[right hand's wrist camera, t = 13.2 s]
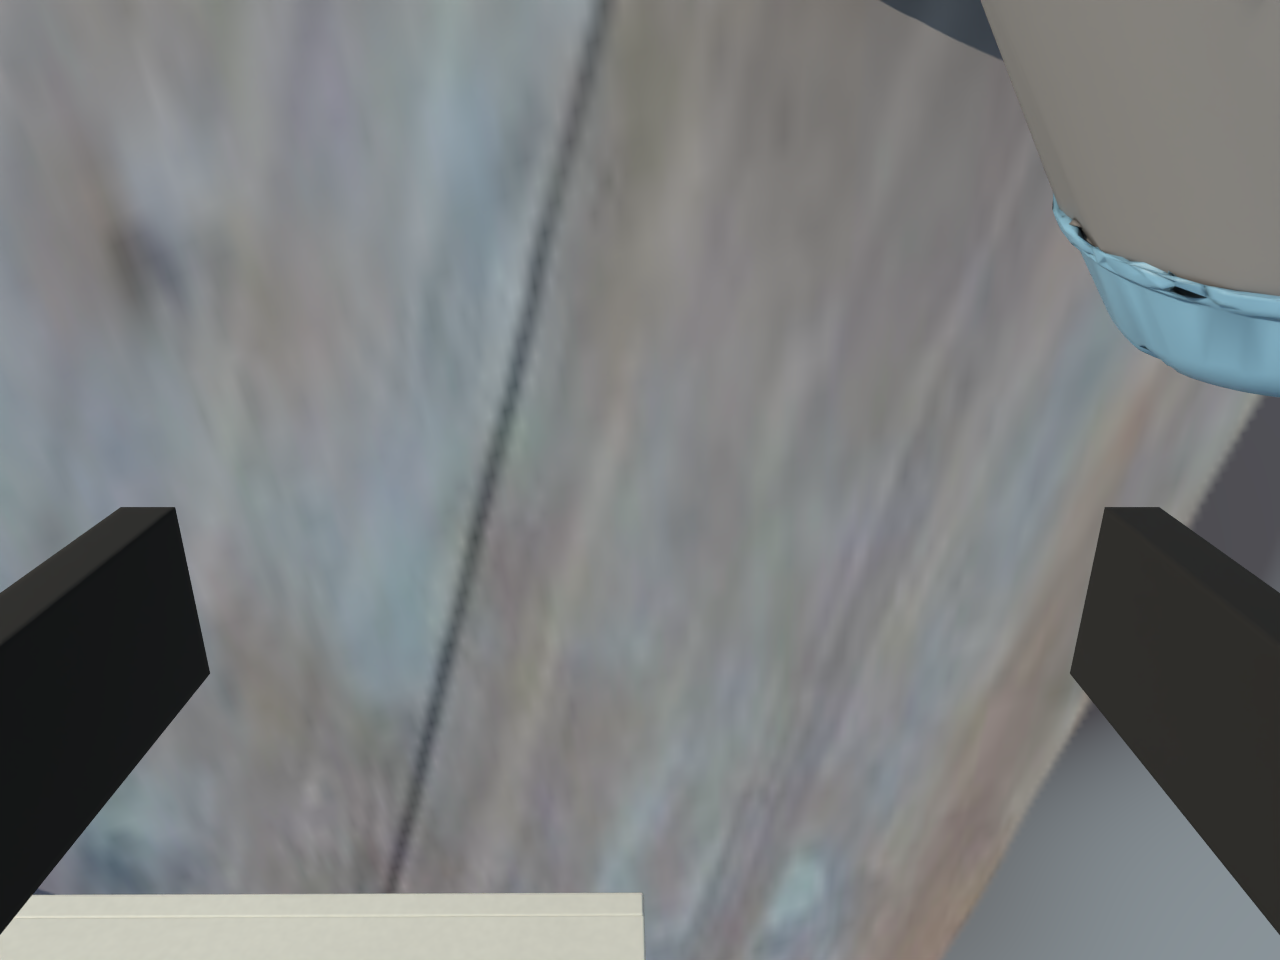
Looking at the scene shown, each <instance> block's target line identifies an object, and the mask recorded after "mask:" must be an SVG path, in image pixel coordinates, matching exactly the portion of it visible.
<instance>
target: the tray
mask: <svg viewBox="0 0 1280 960" xmlns="http://www.w3.org/2000/svg"><path fill="white" fill-rule="evenodd" d="M0 960H646V959H645V921H644V895H643V893H419V894H141V895H32V896H31V897H30V898H29V900H28V901H27V902H26V903H25V905H24V906H23V907H22V908H21V910H20V911H19V912H18V913H17V915H16V916H15V917H14V918H13V920H12V921H11V922H10V923H9V925H8V926H7V927H6V928H5V930H4V931H3V932H2V933H1V935H0Z"/></svg>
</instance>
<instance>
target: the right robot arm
mask: <svg viewBox="0 0 1280 960" xmlns="http://www.w3.org/2000/svg"><path fill="white" fill-rule="evenodd" d="M981 3H982V6H983V8H984V11H985V13H986V16H987V19H988V21H989V24H990V27H991V29H992V32H993V35H994V37H995V40H996V43H997V45H998V48H999V50H1000V53H1001V56H1002V58H1003V61H1004V64H1005V66H1006V69H1007V72H1008V74H1009V77H1010V80H1011V82H1012V85H1013V88H1014V90H1015V93H1016V95H1017V98H1018V101H1019V103H1020V106H1021V109H1022V111H1023V114H1024V117H1025V119H1026V122H1027V125H1028V127H1029V130H1030V132H1031V135H1032V138H1033V140H1034V143H1035V146H1036V148H1037V151H1038V154H1039V156H1040V159H1041V162H1042V164H1043V167H1044V169H1045V172H1046V175H1047V177H1048V180H1049V183H1050V185H1051V188H1052V191H1053V212H1054V215H1055V218H1056V220H1057V222H1058V225H1059V227H1060V229H1061V231H1062V232H1063V233H1064V235H1065V236H1066V237H1067V238H1068V240H1069V241H1070V242H1071V244H1073V245H1074V246H1075V247H1076V248H1077V249H1079V250H1080V252H1081V254H1082V256H1083V258H1084V260H1085V263H1086V265H1087V267H1088V269H1089V271H1090V274H1091V276H1092V278H1093V280H1094V282H1095V285H1096V287H1097V289H1098V291H1099V293H1100V296H1101V298H1102V300H1103V302H1104V304H1105V307H1106V309H1107V311H1108V313H1109V315H1110V317H1111V318H1112V320H1113V322H1114V323H1115V325H1116V326H1117V327H1118V329H1119V330H1120V331H1121V332H1122V334H1123V335H1124V336H1125V337H1126V338H1127V339H1128V340H1129V341H1130V342H1131V343H1132V344H1133V345H1134V346H1135V347H1136V348H1138V349H1139V350H1140V351H1143V352H1145V353H1147V354H1149V355H1151V356H1153V357H1156V358H1158V359H1161V360H1162V361H1163V362H1164V363H1165V364H1166V365H1168V366H1171V367H1172V368H1173V369H1175V370H1176V371H1177V372H1179V373H1181V374H1183V375H1186V376H1188V377H1190V378H1193V379H1196V380H1199V381H1202V382H1206V383H1209V384H1212V385H1216V386H1220V387H1224V388H1229V389H1233V390H1237V391H1242V392H1247V393H1253V394H1259V395H1265V396H1274V397H1280V0H981ZM209 674H210V671H209V666H208V661H207V657H206V652H205V647H204V642H203V638H202V633H201V628H200V623H199V619H198V614H197V609H196V604H195V600H194V595H193V590H192V585H191V581H190V576H189V571H188V566H187V562H186V557H185V552H184V547H183V543H182V538H181V533H180V528H179V524H178V519H177V514H176V509H175V507H120V508H119V509H118V510H116V511H115V512H113V513H112V514H111V515H109V516H108V517H106V518H105V519H104V520H102V521H101V522H99V523H98V524H97V525H95V526H94V527H92V528H91V529H90V530H88V531H87V532H85V533H84V534H83V535H81V536H80V537H78V538H77V539H76V540H74V541H73V542H71V543H70V544H69V545H67V546H66V547H64V548H63V549H62V550H60V551H59V552H57V553H56V554H54V555H53V556H52V557H50V558H49V559H47V560H46V561H45V562H43V563H42V564H40V565H39V566H38V567H36V568H35V569H33V570H32V571H31V572H29V573H28V574H26V575H25V576H24V577H22V578H21V579H19V580H18V581H17V582H15V583H14V584H12V585H11V586H10V587H8V588H7V589H5V590H4V591H3V592H1V593H0V935H1V933H2V932H3V931H4V930H5V928H6V927H7V926H8V925H9V923H10V922H11V921H12V920H13V918H14V917H15V916H16V915H17V913H18V912H19V911H20V910H21V908H22V907H23V906H24V905H25V903H26V902H27V901H28V900H29V898H30V897H31V896H32V895H33V893H34V892H35V891H36V890H37V889H38V887H39V886H40V885H41V884H42V882H43V881H44V880H45V879H46V877H47V876H48V875H49V874H50V872H51V871H52V870H53V869H54V867H55V866H56V865H57V864H58V862H59V861H60V860H61V859H62V857H63V856H64V855H65V854H66V852H67V851H68V850H69V849H70V847H71V846H72V845H73V844H74V842H75V841H76V840H77V839H78V837H79V836H80V835H81V834H82V832H83V831H84V830H85V829H86V827H87V826H88V825H89V824H90V822H91V821H92V820H93V819H94V817H95V816H96V815H97V814H98V812H99V811H100V810H101V809H102V807H103V806H104V805H105V804H106V802H107V801H108V800H109V799H110V798H111V796H112V795H113V794H114V793H115V791H116V790H117V789H118V788H119V786H120V785H121V784H122V783H123V781H124V780H125V779H126V778H127V776H128V775H129V774H130V773H131V771H132V770H133V769H134V768H135V766H136V765H137V764H138V763H139V761H140V760H141V759H142V758H143V756H144V755H145V754H146V753H147V751H148V750H149V749H150V748H151V746H152V745H153V744H154V743H155V741H156V740H157V739H158V738H159V736H160V735H161V734H162V733H163V731H164V730H165V729H166V728H167V726H168V725H169V724H170V723H171V721H172V720H173V719H174V718H175V716H176V715H177V714H178V713H179V712H180V710H181V709H182V708H183V707H184V705H185V704H186V703H187V702H188V700H189V699H190V698H191V697H192V695H193V694H194V693H195V692H196V690H197V689H198V688H199V687H200V685H201V684H202V683H203V682H204V680H205V679H206V678H207V677H208V675H209ZM1070 674H1071V675H1072V677H1073V678H1074V679H1075V680H1076V682H1077V683H1078V684H1079V685H1080V687H1081V688H1082V689H1083V690H1084V692H1085V693H1086V694H1087V695H1088V697H1089V698H1090V699H1091V700H1092V702H1093V703H1094V704H1095V705H1096V707H1097V708H1098V709H1099V710H1100V711H1101V713H1102V714H1103V715H1104V716H1105V718H1106V719H1107V720H1108V721H1109V723H1110V724H1111V725H1112V726H1113V728H1114V729H1115V730H1116V731H1117V733H1118V734H1119V735H1120V736H1121V738H1122V739H1123V740H1124V741H1125V743H1126V744H1127V745H1128V746H1129V748H1130V749H1131V750H1132V751H1133V753H1134V754H1135V755H1136V756H1137V758H1138V759H1139V760H1140V761H1141V763H1142V764H1143V765H1144V766H1145V768H1146V769H1147V770H1148V771H1149V773H1150V774H1151V775H1152V776H1153V778H1154V779H1155V780H1156V781H1157V783H1158V784H1159V785H1160V786H1161V787H1162V789H1163V790H1164V791H1165V793H1166V794H1167V795H1168V796H1169V797H1170V799H1171V800H1172V801H1173V802H1174V804H1175V805H1176V806H1177V807H1178V809H1179V810H1180V811H1181V812H1182V814H1183V815H1184V816H1185V817H1186V819H1187V820H1188V821H1189V822H1190V824H1191V825H1192V826H1193V827H1194V829H1195V830H1196V831H1197V832H1198V834H1199V835H1200V836H1201V837H1202V839H1203V840H1204V841H1205V842H1206V844H1207V845H1208V846H1209V847H1210V849H1211V850H1212V851H1213V852H1214V854H1215V855H1216V856H1217V857H1218V859H1219V860H1220V861H1221V862H1222V863H1223V865H1224V866H1225V867H1226V869H1227V870H1228V871H1229V872H1230V874H1231V875H1232V876H1233V877H1234V878H1235V880H1236V881H1237V882H1238V884H1239V885H1240V886H1241V887H1242V888H1243V890H1244V891H1245V892H1246V893H1247V895H1248V896H1249V897H1250V898H1251V900H1252V901H1253V902H1254V903H1255V905H1256V906H1257V907H1258V908H1259V910H1260V911H1261V912H1262V913H1263V915H1264V916H1265V917H1266V918H1267V920H1268V921H1269V922H1270V923H1271V925H1272V926H1273V927H1274V928H1275V930H1276V931H1277V932H1278V933H1279V935H1280V593H1279V592H1277V591H1276V590H1275V589H1273V588H1272V587H1270V586H1269V585H1267V584H1266V583H1265V582H1263V581H1262V580H1261V579H1259V578H1258V577H1256V576H1255V575H1254V574H1252V573H1251V572H1249V571H1248V570H1247V569H1245V568H1244V567H1242V566H1241V565H1240V564H1238V563H1237V562H1235V561H1234V560H1233V559H1231V558H1230V557H1228V556H1227V555H1226V554H1224V553H1223V552H1221V551H1220V550H1218V549H1217V548H1216V547H1214V546H1213V545H1211V544H1210V543H1209V542H1207V541H1206V540H1204V539H1203V538H1202V537H1200V536H1199V535H1197V534H1196V533H1195V532H1193V531H1192V530H1190V529H1189V528H1188V527H1186V526H1185V525H1183V524H1182V523H1181V522H1179V521H1178V520H1176V519H1175V518H1174V517H1172V516H1171V515H1169V514H1168V513H1167V512H1165V511H1164V510H1162V509H1161V508H1160V507H1105V509H1104V514H1103V519H1102V524H1101V528H1100V533H1099V538H1098V543H1097V547H1096V552H1095V557H1094V562H1093V566H1092V571H1091V576H1090V581H1089V585H1088V590H1087V595H1086V600H1085V604H1084V609H1083V614H1082V619H1081V623H1080V628H1079V633H1078V638H1077V642H1076V647H1075V652H1074V657H1073V661H1072V666H1071V671H1070Z"/></svg>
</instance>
